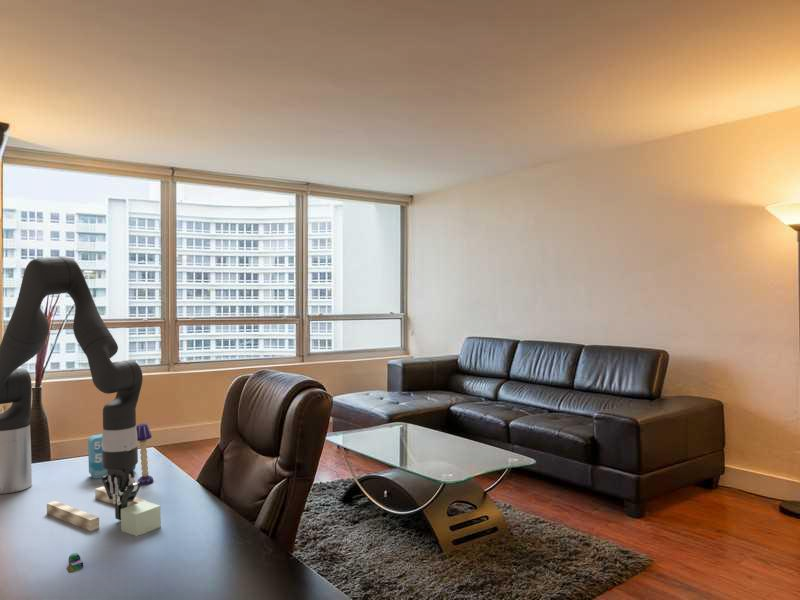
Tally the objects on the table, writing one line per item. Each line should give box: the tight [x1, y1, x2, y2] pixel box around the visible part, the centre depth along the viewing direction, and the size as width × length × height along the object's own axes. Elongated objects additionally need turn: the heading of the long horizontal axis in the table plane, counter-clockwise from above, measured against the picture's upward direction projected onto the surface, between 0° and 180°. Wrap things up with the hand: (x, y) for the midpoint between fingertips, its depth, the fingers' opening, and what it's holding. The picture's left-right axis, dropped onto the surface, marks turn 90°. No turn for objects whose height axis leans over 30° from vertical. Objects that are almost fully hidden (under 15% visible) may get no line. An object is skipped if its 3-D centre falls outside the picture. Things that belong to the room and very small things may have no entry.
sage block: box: [120, 500, 162, 537], centre depth 131 cm, size 6×6×5 cm
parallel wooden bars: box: [46, 486, 148, 532], centre depth 142 cm, size 20×14×2 cm
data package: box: [87, 433, 137, 480], centre depth 172 cm, size 12×4×12 cm, turn 128°
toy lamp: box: [136, 423, 154, 486], centre depth 163 cm, size 5×5×17 cm
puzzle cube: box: [65, 552, 84, 574], centre depth 113 cm, size 4×3×2 cm, turn 41°
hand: (121, 518), depth 136 cm, fingers closed
